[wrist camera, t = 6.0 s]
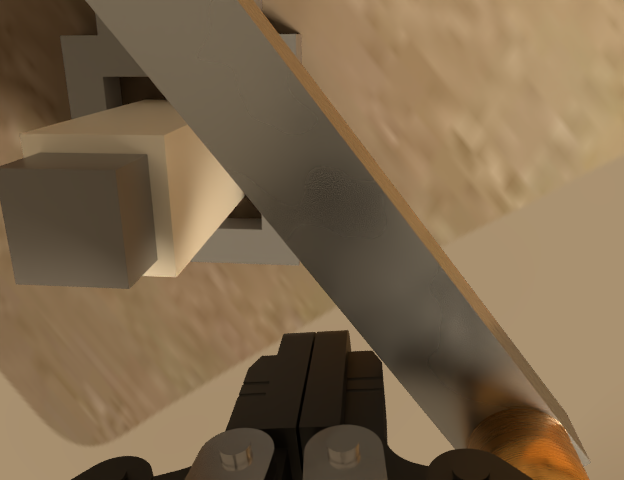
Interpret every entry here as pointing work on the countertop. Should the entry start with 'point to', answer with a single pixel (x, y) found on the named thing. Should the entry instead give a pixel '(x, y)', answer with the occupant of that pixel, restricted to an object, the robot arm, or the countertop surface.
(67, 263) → the plug
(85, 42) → the dock
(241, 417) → the robot arm
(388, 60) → the countertop surface
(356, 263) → the long flat grey beam
